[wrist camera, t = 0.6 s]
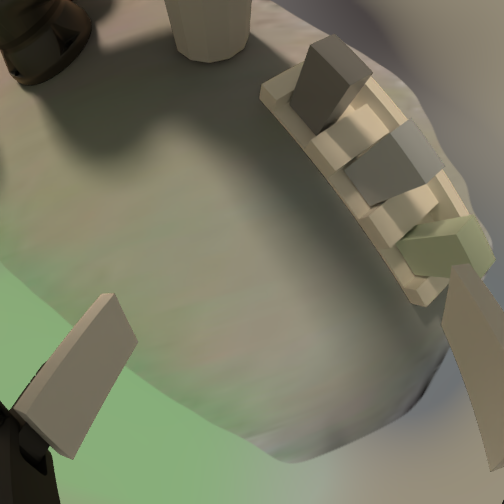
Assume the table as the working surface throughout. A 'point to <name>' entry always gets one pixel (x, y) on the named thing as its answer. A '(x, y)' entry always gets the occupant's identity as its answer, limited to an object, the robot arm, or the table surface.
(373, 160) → the key slate
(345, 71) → the key charcoal
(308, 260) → the table surface
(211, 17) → the jar
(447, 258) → the key sage
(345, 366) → the table surface
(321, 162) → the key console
